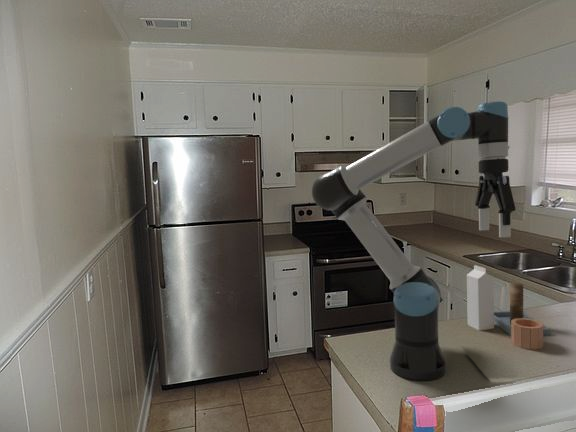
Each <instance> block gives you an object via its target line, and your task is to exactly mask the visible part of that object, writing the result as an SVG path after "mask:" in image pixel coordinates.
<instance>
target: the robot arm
mask: <svg viewBox="0 0 576 432" xmlns="http://www.w3.org/2000/svg"><path fill="white" fill-rule="evenodd" d="M508 111H509V109H508V104H507V103H506V102H505V101H500V100H499V101H490V102H484V103H481V104H479V105H478V106H477V109H476V111H473V112H467V111H466V110H465V109H464V108H462V107H459V106H449V107H448V108H445V109H444V110H443V111H442V112H440V114H438V115H437V116H434V117H433V118H431V119H429V120H428V121H426V122H424V123H422V124H421V125H418V126H417V127H415V128H414V129H412V130H410V131H408V132H406V133H405V134H402V135H401V136H399V137H397V138H395V139H393V140H392V141H389V142H388V143H386V144H384V145H383V146H381V147H379V148H378V149H375V150H374V151H372V152H370V153H368V154H367V155H365V156H363V157H361V158H360V159H358V160H357V161H354V162H352V163H351V164H349V165H340V166H338V167H336V168H334V169H332V170H330V171H328V172H326V173H325V172H324V174H321V175H319V176H318V177H317V178H316V179H315V181H314V182H313V184H312V187H311V196H312V199H313V202H314V203H315V204H316V206H318V207H319V208H320V209H323V210H325V211H331V213H332V214H334V216H335V218H336V219H337V220H339V221H344V222H345V223H346V225H347V226H348V227H349V228H350V229H351V231H352V232H353V234H354V235H355V236H356V238H357V239H358V240H359V241H360V243H361V244H362V245H363V247H364V248H365V250H367V252H368V253H369V255H370V256H371V258H372V259H373V260H374V261H375V263H376V265H378V266H379V268H380V269H381V270H382V272H383V273H384V275H385V276H386V277H387V279H388V280H389V282H390V284H389V290H391V293H393V298H392V300H393V305H394V306H393V307H394V329H395V331H394V333H395V341H394V345H393V347H392V351H391V354H390V357H389V367H390V369H391V371H392V372H393V373H394V374H395V375H397V376H399V377H402V378H404V379H409V380H413V381H421V382H422V381H424V382H425V381H434V380H437V379H439V378H442V377H443V376H445V374H446V372H447V364H446V363H447V362H446V360H445V357H444V354H443V352H442V349H441V346H440V343H439V308H440V304H441V299H442V295H441V290H440V287H439V285H438V283H437V282H436V281H435V280H434V278H432V277H430V276H428V275H427V274H426V272H425V271H424V270H423V268H422V267H421V266H418V265H414V264H412V262H411V261H410V260H409V259H408V258H407V257H408V256H406V255H405V253H404V252H403V251H402V249H401V248H400V247H399V245H398V244H397V243H396V241H394V239H393V238H392V237H391V235H390V234H389V233H388V231H387V230H386V229H385V227H384V226H383V225H382V223H381V221H379V219H378V218H377V217H376V215H375V214H374V213H373V211H372V210H371V209H370V208H369V206H368V205H367V200H368V198H367V196H366V195H365V193H364V192H363V191H362V190H361V189H363V188H365V187H367V186H369V185H371V184H373V183H374V182H377V181H378V180H380V179H381V178H384V177H385V176H388V175H389V174H392V173H394V172H395V171H397V170H399V169H401V168H403V167H405V166H407V165H408V164H411V163H413V161H415V160H419V158H422V157H424V156H425V155H427V154H430V152H432V151H434V150H437V149H438V148H440V147H442V146H445V145H447V144H449V143H450V142H453V141H454V142H455V141H465V140H476V139H477V140H478V142H477V143H478V144H477V157H478V158H479V159H480V160H479V161H478V173H479V174H484V175H480V176H479V177H478V183H479V184H478V188H477V192H476V199H475V204H474V205H475V206H476V207H477V209H478V230H479V231H490V205H489V204H490V202H491V199H492V196H493V195H494V197H495V200H496V203H497V205H498V208H499V210H498V237H499V238H511V237H512V232H511V231H512V230H511V228H512V227H511V226H512V225H511V224H512V223H511V222H512V220H511V218H512V217H511V213H513V212H515V211H516V206H515V201H514V197H513V192H512V189H511V184H510V176H509V175H503V173H507V172H508V171H509V159H508V158H507V157H509V150H510V146H509V113H508Z"/></svg>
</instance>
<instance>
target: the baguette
mask: <svg viewBox="0 0 576 432" xmlns="http://www.w3.org/2000/svg"><path fill="white" fill-rule="evenodd" d="M509 311H510V325H511V321H512V320H513V319H516V318H523V312H524V284H522V283H518V282H511V283H509Z"/></svg>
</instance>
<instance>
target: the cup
mask: <svg viewBox="0 0 576 432" xmlns="http://www.w3.org/2000/svg"><path fill="white" fill-rule="evenodd" d="M533 319H534V318H533ZM533 319H527V318H516V319H513V320H512V321H511V336H510V343H512V345H513V346H515V347H518V348H521V349H525V350H540V349H542V348H544V335H543V325H544V323H543V322H542V321H540V320H537V319H535V320H533Z"/></svg>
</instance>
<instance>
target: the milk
mask: <svg viewBox="0 0 576 432" xmlns="http://www.w3.org/2000/svg"><path fill="white" fill-rule="evenodd" d="M494 281H495V280H494V276H493V275H491V274H489V273H487V269H486V268H485V267H482V266H479V265H477V264H475V265H473V269H472V270H471V271H470V272H469V273H467V274H466V300H467V301H466V307H467V309H466V310H467V311H466V313H467V325H468V326H470V327H471V328H472V329H475V330H478V331H485V330H486V331H487V330H491V329H494V328H495V322H494V312H495V310H494V309H495V308H494V307H495V301H494V300H495V299H494V297H495V294H494V293H495V292H494V287H495V285H494Z"/></svg>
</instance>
